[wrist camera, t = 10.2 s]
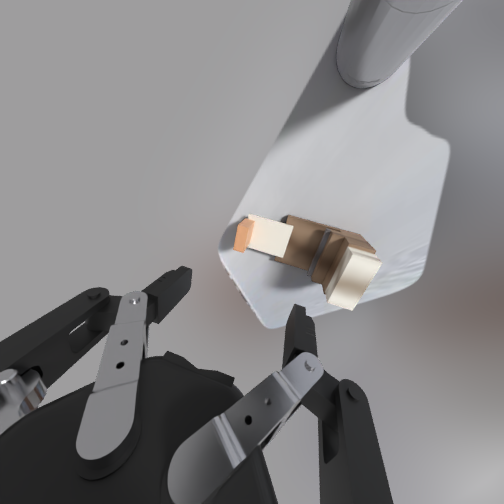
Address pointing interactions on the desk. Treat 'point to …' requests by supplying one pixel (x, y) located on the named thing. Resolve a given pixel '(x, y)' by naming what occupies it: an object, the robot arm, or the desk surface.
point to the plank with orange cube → (262, 235)
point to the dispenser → (332, 260)
